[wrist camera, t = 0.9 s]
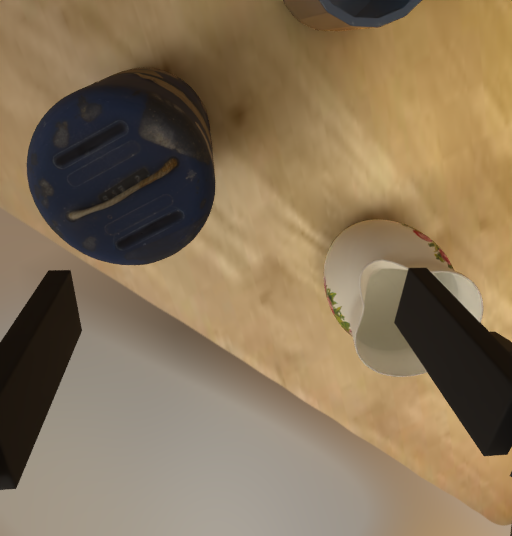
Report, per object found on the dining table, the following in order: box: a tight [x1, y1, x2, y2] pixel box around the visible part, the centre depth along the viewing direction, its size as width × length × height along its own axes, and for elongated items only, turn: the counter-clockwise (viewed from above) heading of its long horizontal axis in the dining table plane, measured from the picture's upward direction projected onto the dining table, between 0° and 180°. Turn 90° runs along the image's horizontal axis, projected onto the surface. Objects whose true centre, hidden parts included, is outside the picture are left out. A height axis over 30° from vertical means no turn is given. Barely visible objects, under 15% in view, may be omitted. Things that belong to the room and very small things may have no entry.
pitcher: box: [324, 219, 483, 377], centre depth 38 cm, size 11×18×14 cm, turn 40°
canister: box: [27, 68, 215, 265], centre depth 27 cm, size 10×10×18 cm
